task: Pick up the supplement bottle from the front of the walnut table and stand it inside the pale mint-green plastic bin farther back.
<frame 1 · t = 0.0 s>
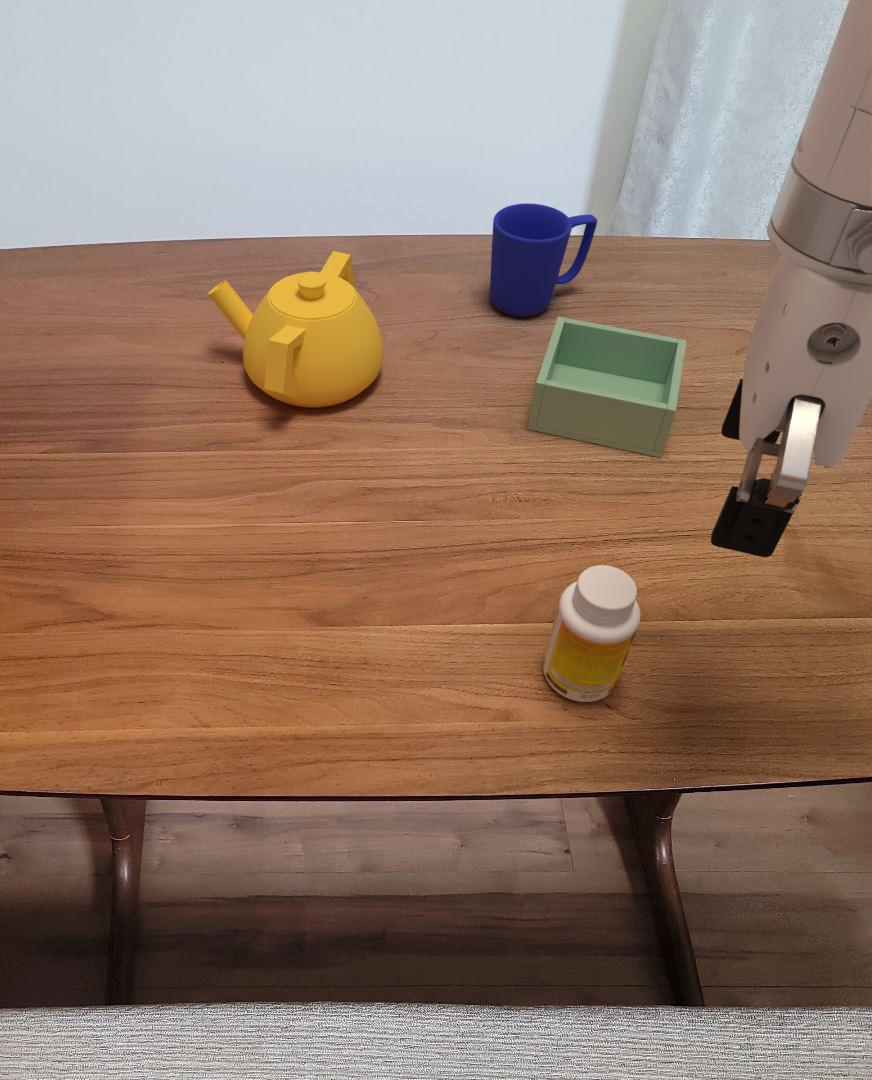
hand: (743, 490, 54), 21 cm above the table, tool pointing down, fingers open, 9 cm apart
teapot: (295, 370, 97), on the table
bin: (601, 407, 92), on the table
supplement bottle: (578, 675, 70), on the table
mug: (533, 302, 105), on the table
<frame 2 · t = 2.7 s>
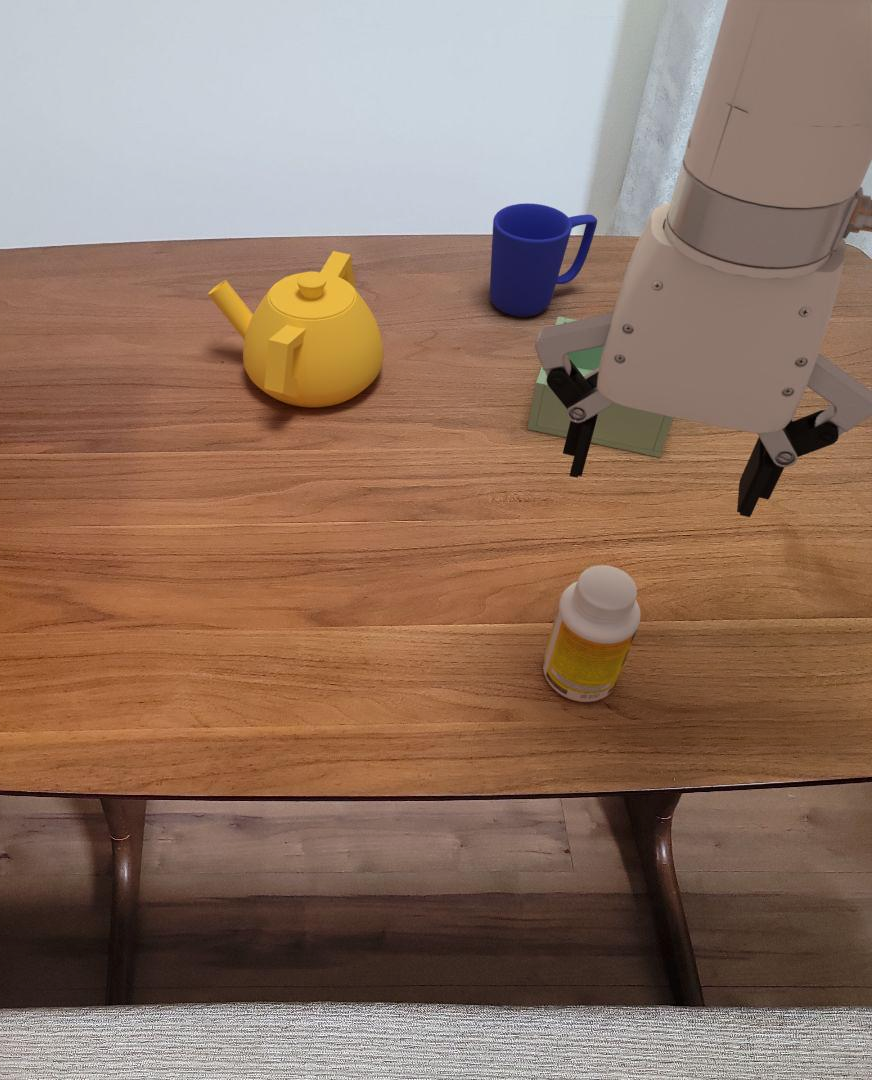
hand: (659, 481, 55), 20 cm above the table, tool pointing down, fingers open, 9 cm apart
nothing on the table moved.
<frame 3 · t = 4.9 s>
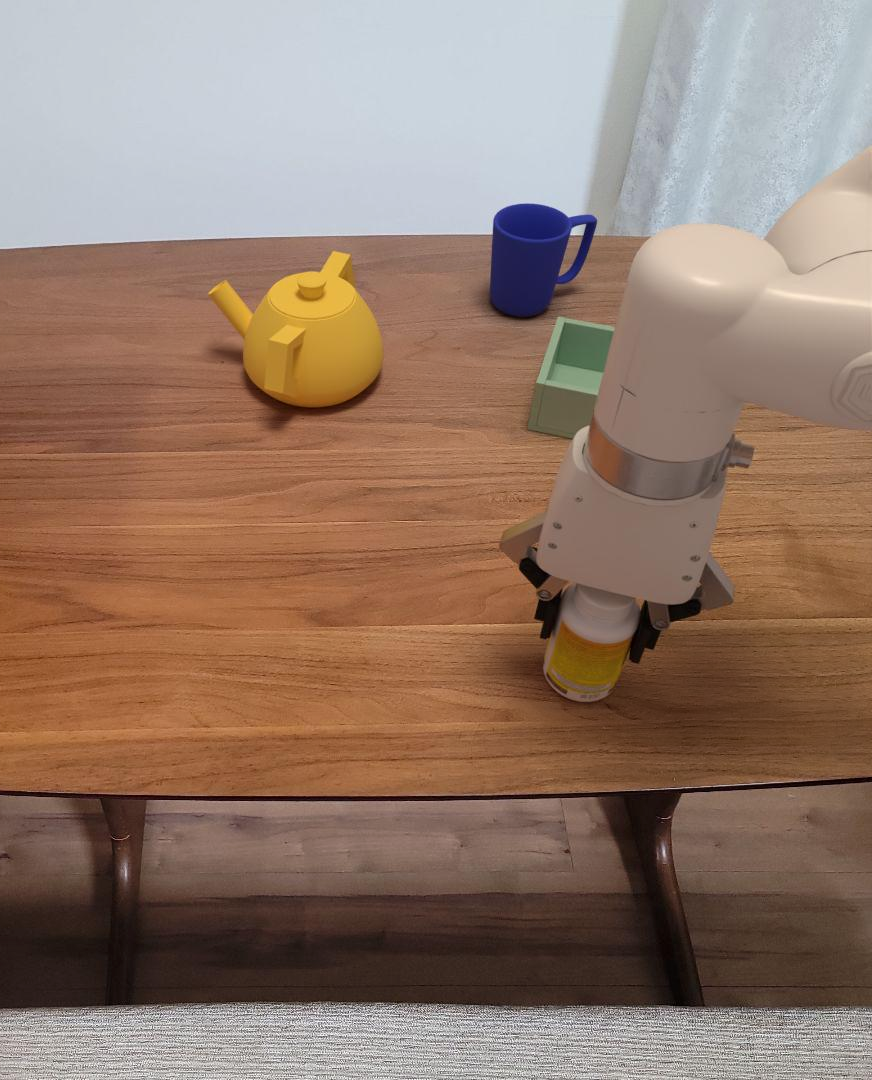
hand: (591, 634, 66), 5 cm above the table, tool pointing down, fingers closed on supplement bottle, 5 cm apart
supplement bottle: (578, 675, 70), on the table, touching gripper
everything else where it was.
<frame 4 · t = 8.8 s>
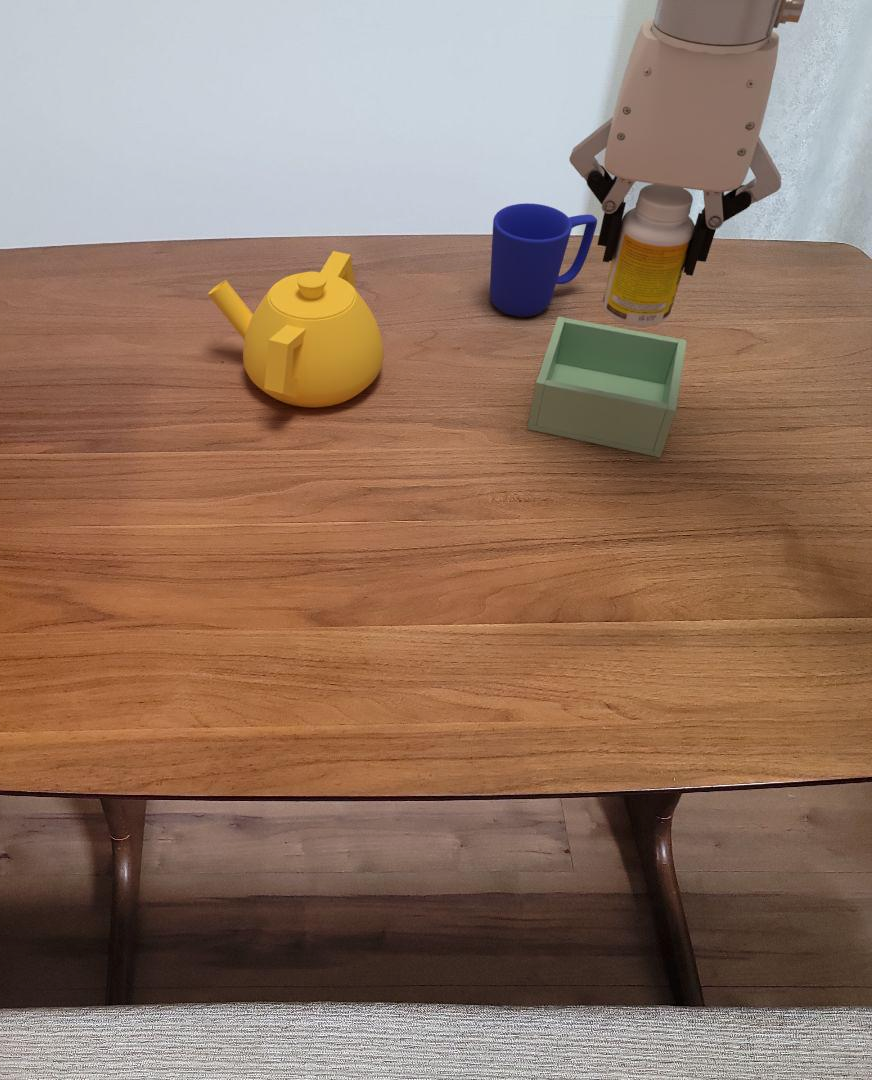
hand: (649, 258, 74), 19 cm above the table, tool pointing down, fingers closed on supplement bottle, 5 cm apart
supplement bottle: (634, 313, 78), point 14 cm above the table, touching gripper
everything else where it was.
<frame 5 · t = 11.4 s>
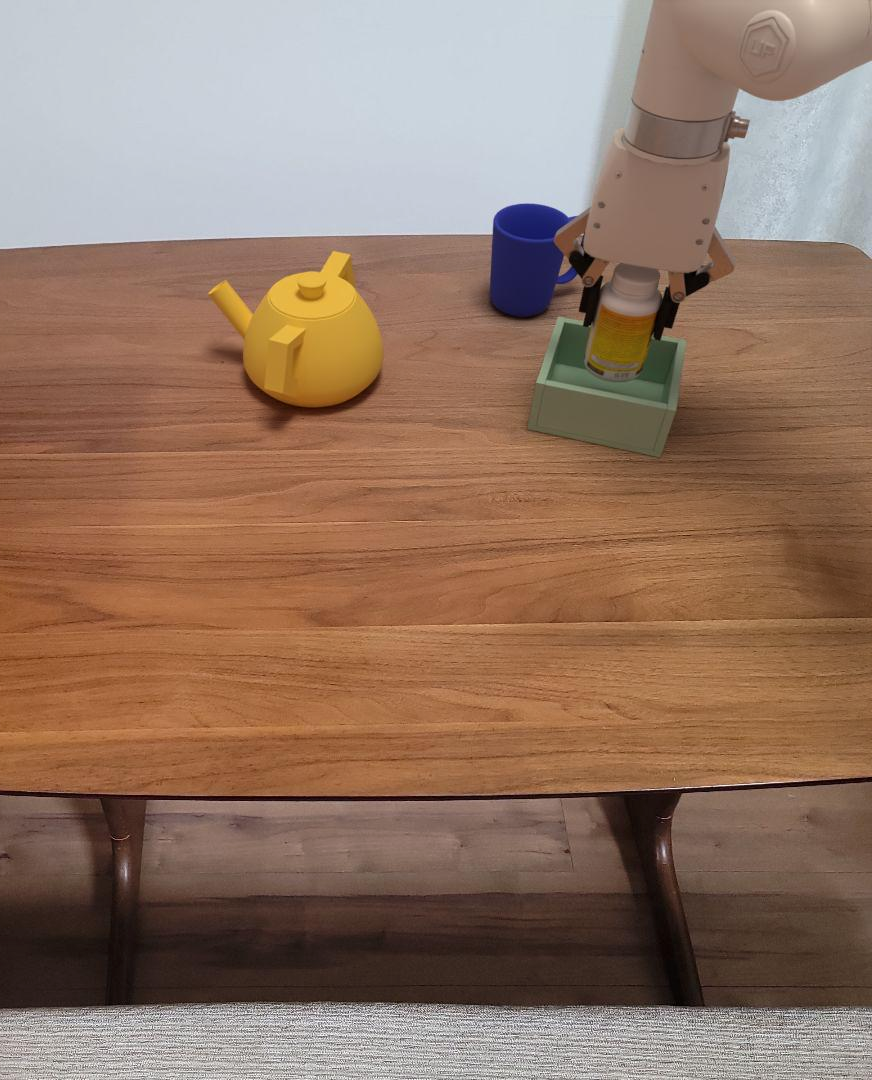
hand: (623, 323, 85), 10 cm above the table, tool pointing down, fingers closed on supplement bottle, 5 cm apart
supplement bottle: (611, 369, 89), point 5 cm above the table, touching gripper
everything else where it was.
when the fingers open (6 cm above the table, at t = 13.0 s): supplement bottle stays where it is, resting on bin.
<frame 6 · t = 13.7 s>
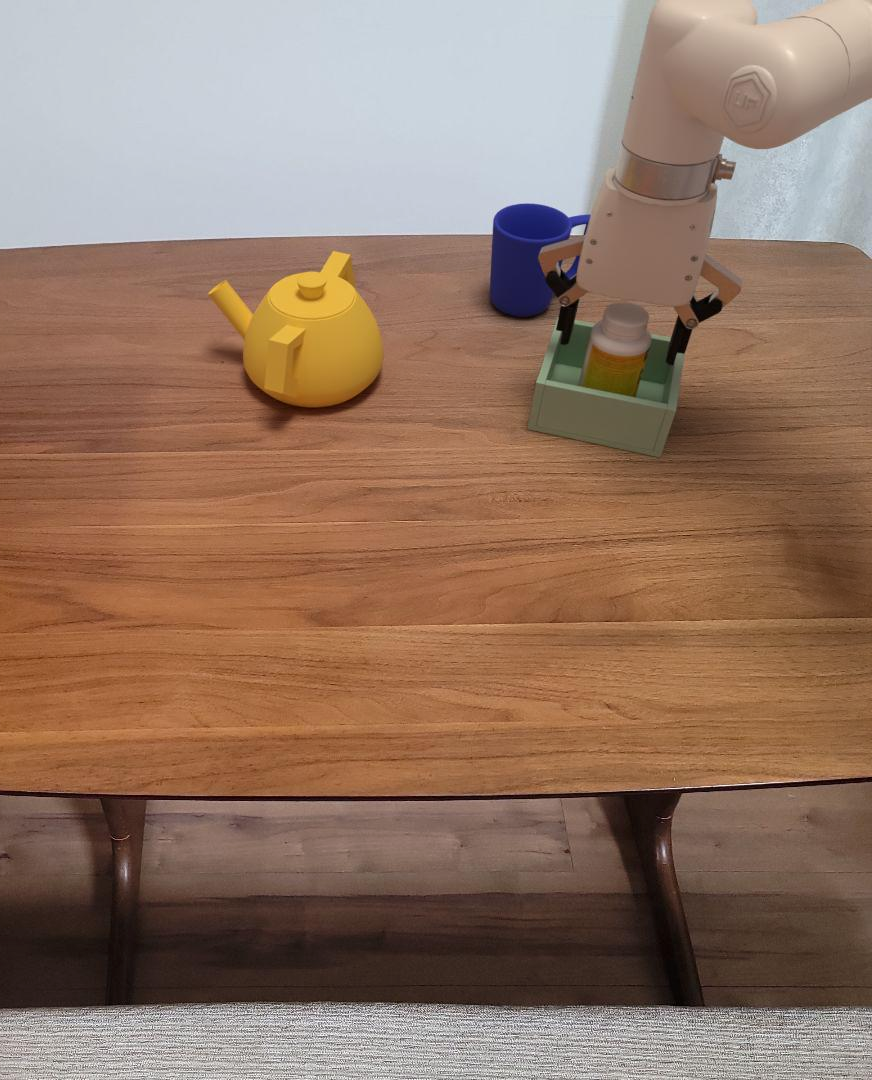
hand: (617, 346, 87), 7 cm above the table, tool pointing down, fingers open, 9 cm apart
supplement bottle: (603, 404, 92), resting on bin
everything else where it was.
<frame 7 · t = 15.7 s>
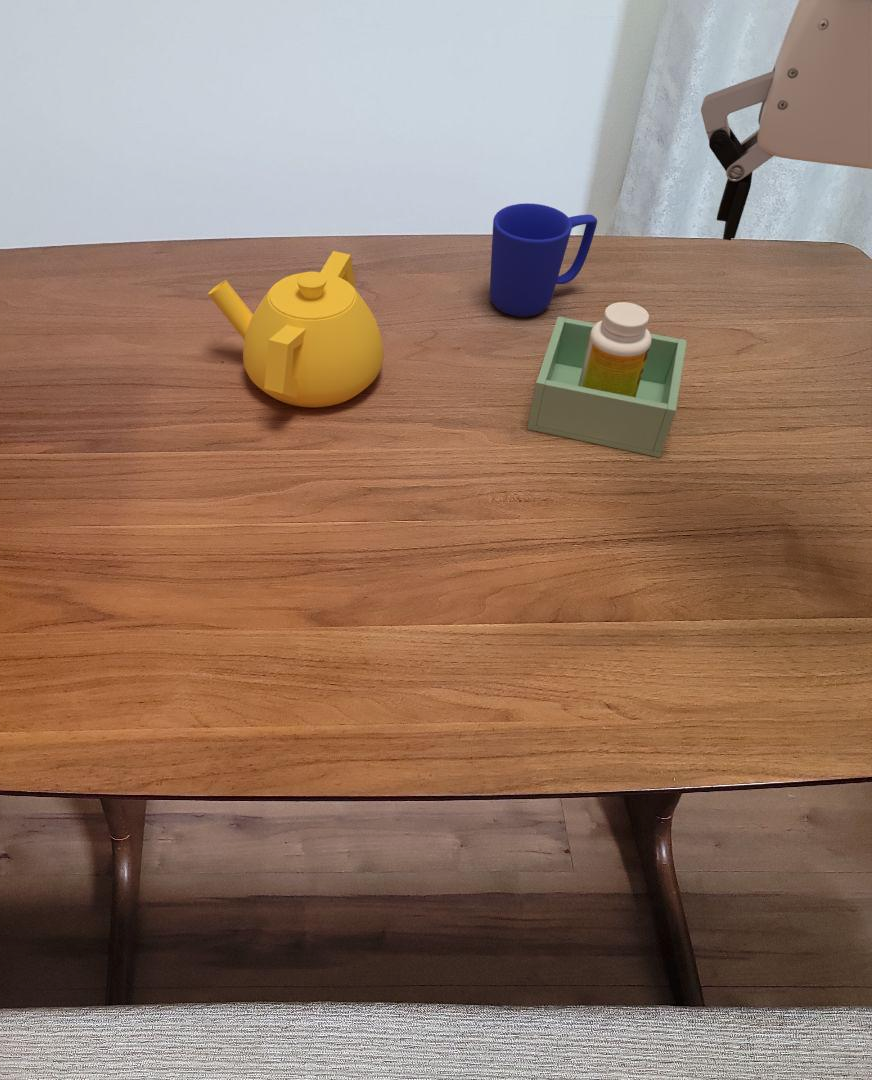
hand: (804, 241, 62), 26 cm above the table, tool pointing down, fingers open, 9 cm apart
nothing on the table moved.
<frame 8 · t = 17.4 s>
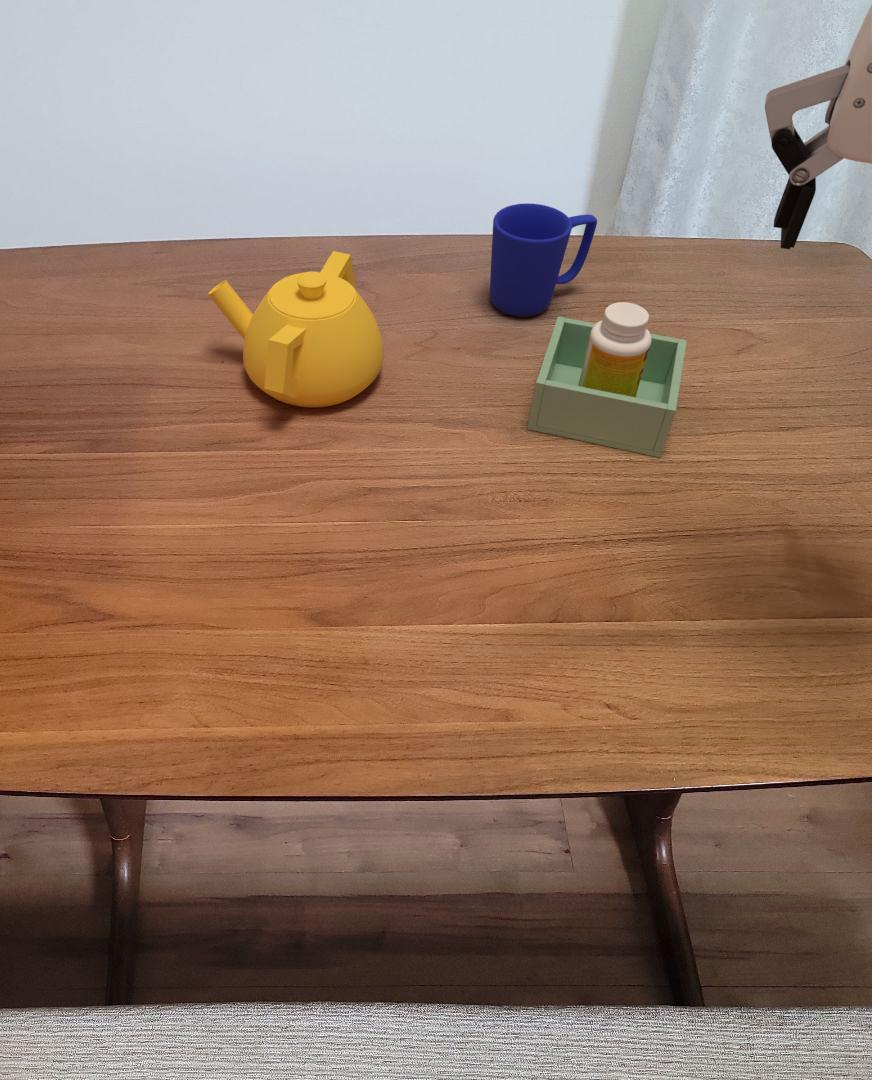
hand: (868, 251, 57), 28 cm above the table, tool pointing down, fingers open, 9 cm apart
nothing on the table moved.
at the end: supplement bottle inside the target area in the bin (0.1 cm from its centre), point 0.4 cm above the bin's base; supplement bottle tilted 0° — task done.
